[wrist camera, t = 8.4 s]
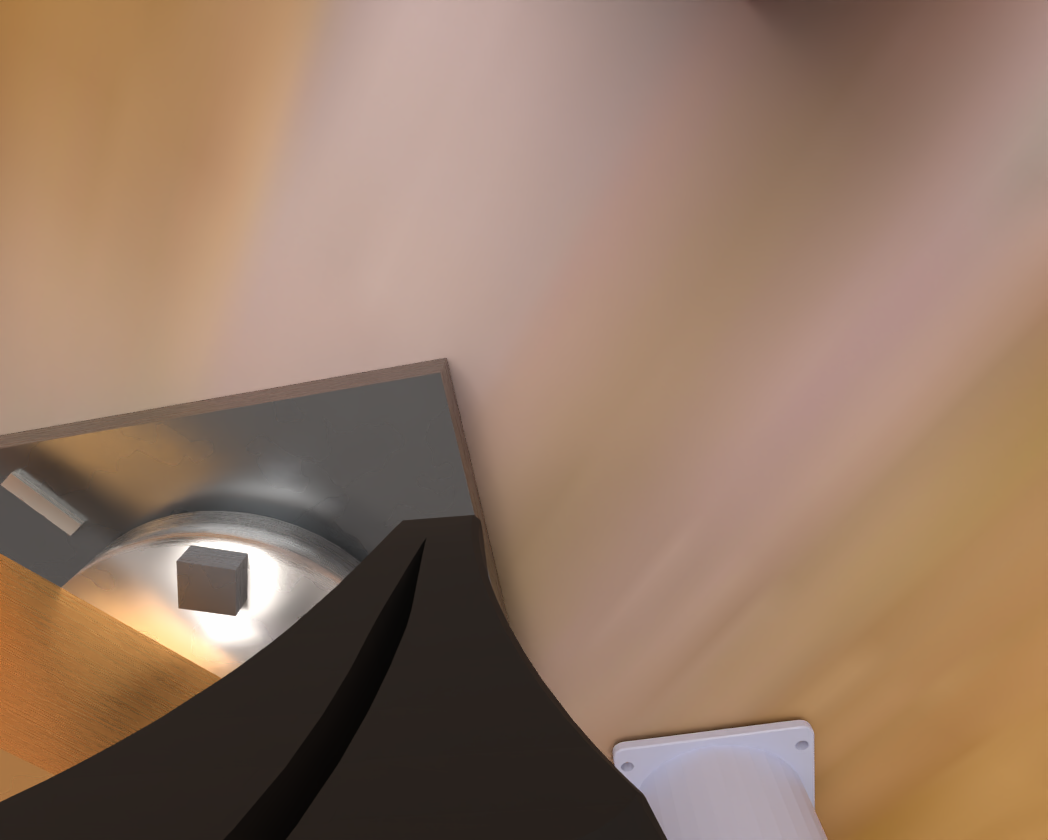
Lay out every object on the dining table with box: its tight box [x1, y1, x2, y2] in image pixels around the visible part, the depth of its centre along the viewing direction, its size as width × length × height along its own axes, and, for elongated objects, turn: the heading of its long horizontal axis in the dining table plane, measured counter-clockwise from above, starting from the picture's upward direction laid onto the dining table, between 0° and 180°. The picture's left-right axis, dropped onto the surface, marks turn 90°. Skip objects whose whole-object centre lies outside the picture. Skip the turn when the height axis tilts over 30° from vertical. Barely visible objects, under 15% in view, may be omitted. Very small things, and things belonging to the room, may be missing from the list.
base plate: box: [0, 358, 509, 624], centre depth 23 cm, size 18×18×2 cm
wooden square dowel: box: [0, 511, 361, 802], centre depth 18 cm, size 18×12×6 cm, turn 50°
